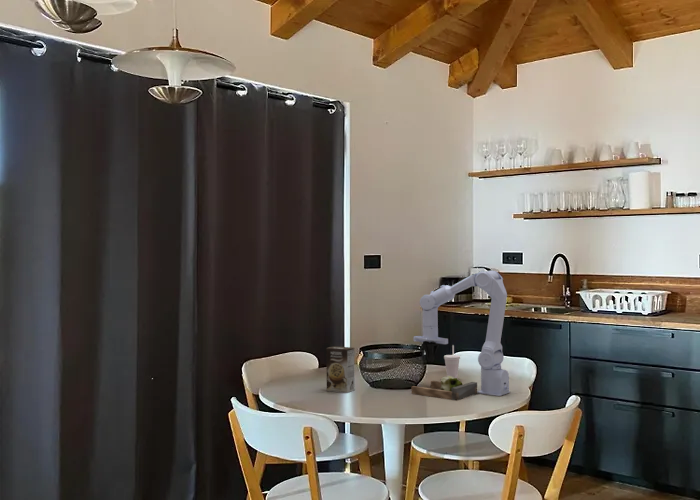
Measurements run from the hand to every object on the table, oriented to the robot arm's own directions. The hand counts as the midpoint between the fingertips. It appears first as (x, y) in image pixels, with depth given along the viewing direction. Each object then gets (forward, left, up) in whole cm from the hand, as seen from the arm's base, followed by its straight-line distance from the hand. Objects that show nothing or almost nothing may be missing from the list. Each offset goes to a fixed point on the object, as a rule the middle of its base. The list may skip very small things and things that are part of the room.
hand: (430, 361), depth 260 cm
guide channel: (-11, +8, -9) cm, 17 cm away
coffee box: (+23, +26, -10) cm, 36 cm away
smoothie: (0, -15, -10) cm, 18 cm away
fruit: (-13, +7, -10) cm, 18 cm away
